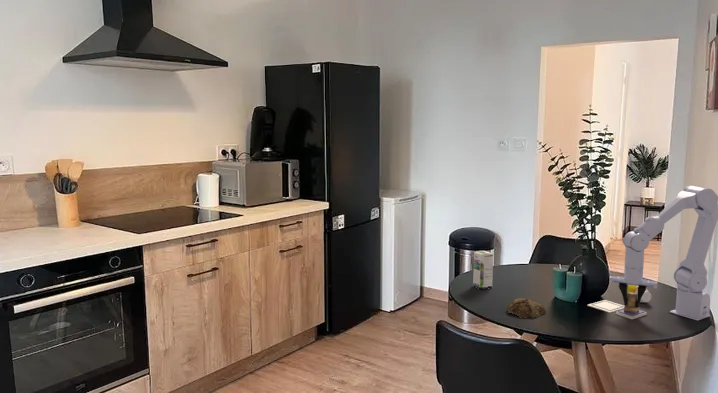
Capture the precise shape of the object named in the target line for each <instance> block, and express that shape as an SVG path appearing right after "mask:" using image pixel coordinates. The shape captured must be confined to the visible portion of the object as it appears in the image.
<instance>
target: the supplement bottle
mask: <svg viewBox="0 0 718 393" xmlns="http://www.w3.org/2000/svg"><path fill="white" fill-rule="evenodd" d="M629 292H632V293H636V294H638V286H635V285H628V288H627V293H629ZM651 300H652V294H651V293H650V291H649V289H647V288H646V291H645V292H644V294H643V296H642V298H641V300H640V303H648V302H650V301H651Z"/></svg>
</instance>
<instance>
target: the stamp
mask: <svg viewBox="0 0 718 393" xmlns="http://www.w3.org/2000/svg"><path fill="white" fill-rule="evenodd" d="M636 303H637V294H636V293H632V292H629V293H627V306H626V305H623V306H624V312H629V313H634V314H637V313H638V311H639V310H640V306H639V307H636Z"/></svg>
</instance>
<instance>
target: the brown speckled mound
mask: <svg viewBox="0 0 718 393" xmlns="http://www.w3.org/2000/svg"><path fill="white" fill-rule="evenodd" d="M507 311H508V312H509V313H512V314H511V315H514V314H515V315H514V316H516V315H517V316H520V317H532V318H531V319H535V318H534V317H536V318H539V317H540V315H541V316H544V315H546V312H547V311H546V308H545V307H544V306H543V305H542V304H540V303H538V302H536V301H534V300H532V299H529V298H515V299H514V300H512V301H511V302H510V303H509V305H508V306H507V308H506V312H507ZM508 312H507V313H508ZM509 313H508V314H509ZM543 314H544V315H543ZM517 316H516V317H517ZM538 316H539V317H538Z"/></svg>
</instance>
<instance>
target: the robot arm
mask: <svg viewBox="0 0 718 393" xmlns="http://www.w3.org/2000/svg"><path fill="white" fill-rule="evenodd" d="M686 209H693V210H694V211H695V212H696V214H697V215H698V216H697V220H696V223H695V228H694V230H693V233H692V237H691V240H690V244H689V247H688V250H687V253H686V257H685V259H683V260H682V261H680V263H679V265H678V267H677V268H676V269H675V270H674V272H673V279H674V282H675V283H676V287H677V288H676V298H675V309H672V310H670V311H669V313H671V314H673V315H678V316H681V317H685V318H688V319H691V320H694V321H700V320H703V319H705V318H709V317H711V315H710V308H711V307H710V306H711V297H710V294H709V293H708V292H707V293H706V292H705V291H703V290H704V289H705V288H706V287H707V286H708V279H707V276H708V270H707V268H706V266H705V261H706V258H707V255H708V252H709V250H710V245H711V241H712V238H713V236H714V232H715V228H716V226H717V222H718V194H717V193H716V192H715V191H714V190H713V189H711V188H706V187H700V186H696V185H692V184H691V185H688V186H686V187H684V189H683V190H681V191H679V192H678V194H677V195H676V197H675V198H674V199H673V200H672V201H671V202H670V203H669V204H668V205H667V206H665V207H664V209H662V210H661V211H660V212H659V213H658V214H656V215H655V216H652V215H651V216H649V217H645V218H644V221H643V222H642V223H641V224H640V225H638V226H637V227H635V228H634V229H633V230H632V231H629V232H627V233H626V234H625V235H624V237H623V238H622V244H623V245H624V246H625V252H624V253H625V254H624V270H623V276H615V275H614V276H612V275H610V276H609V284H618V289H619V291H620V293H621V295H622V298H623V306H625V305H626V306H627V288H628V285H635V286H638V294H637V303H636V307H639V308H640V303H641V302H640V300H641V298H642V296H643V294H644V292H645V291H646V289H647V288H651V289H652V288H653V289H658V281H654V280H648V279H643V277H644V260H645V249H647V248H648V246H649V244H650V241H652V240H653V239H654V238H655V237H656V236H657V235H659V233H662V231H663V230H665V224H666V223H667V222H669V221H671V219H673V218H674V217H676V216H677V215H678V214H680V213H681V212H682V211H683V210H686Z"/></svg>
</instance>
